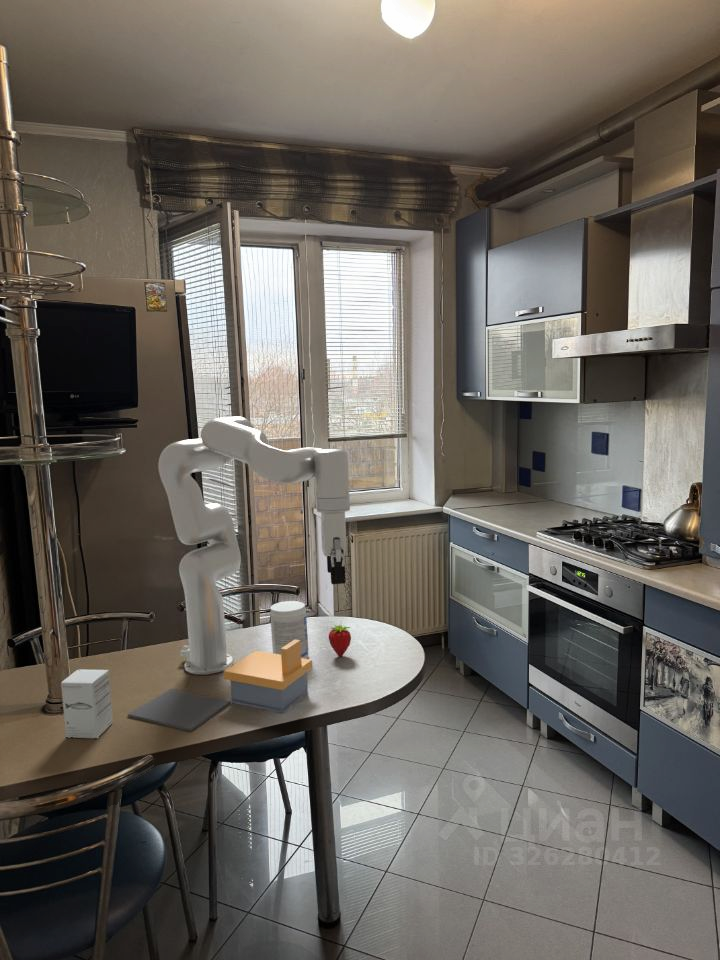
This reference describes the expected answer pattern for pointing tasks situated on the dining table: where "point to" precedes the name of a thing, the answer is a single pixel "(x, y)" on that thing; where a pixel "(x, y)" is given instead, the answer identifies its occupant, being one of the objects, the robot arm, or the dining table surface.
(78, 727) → the supplement box
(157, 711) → the mat
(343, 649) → the strawberry
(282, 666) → the lid
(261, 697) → the parts tub
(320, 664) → the dining table surface
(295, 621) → the supplement tub
